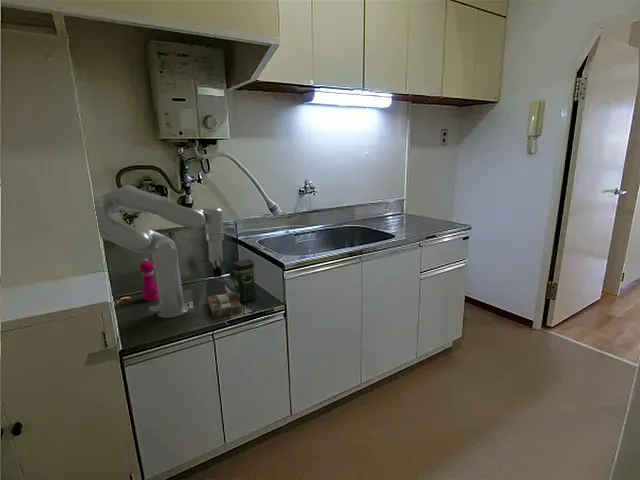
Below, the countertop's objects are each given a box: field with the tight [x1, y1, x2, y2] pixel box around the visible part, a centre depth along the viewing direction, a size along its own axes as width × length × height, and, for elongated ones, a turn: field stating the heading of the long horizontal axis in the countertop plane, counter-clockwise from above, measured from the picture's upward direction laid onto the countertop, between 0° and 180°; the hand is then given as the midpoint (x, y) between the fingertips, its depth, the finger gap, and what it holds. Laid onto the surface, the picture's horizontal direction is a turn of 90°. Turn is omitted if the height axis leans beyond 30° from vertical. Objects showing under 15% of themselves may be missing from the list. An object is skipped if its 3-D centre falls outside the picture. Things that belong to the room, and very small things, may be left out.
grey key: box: [218, 296, 229, 304], centre depth 163 cm, size 4×4×3 cm
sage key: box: [220, 303, 231, 309], centre depth 159 cm, size 4×4×3 cm
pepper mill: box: [139, 257, 159, 302], centre depth 175 cm, size 7×7×20 cm
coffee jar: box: [232, 258, 258, 303], centre depth 171 cm, size 10×8×19 cm
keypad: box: [207, 291, 243, 319], centre depth 164 cm, size 12×18×3 cm, turn 23°
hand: (217, 276), depth 166 cm, fingers closed
